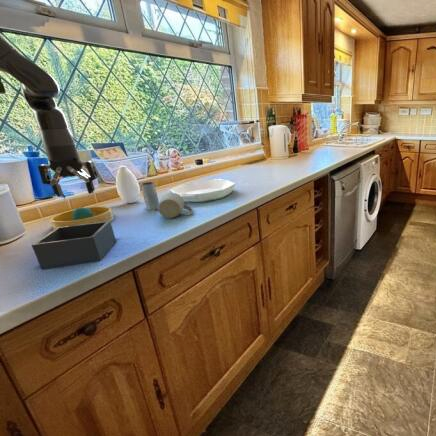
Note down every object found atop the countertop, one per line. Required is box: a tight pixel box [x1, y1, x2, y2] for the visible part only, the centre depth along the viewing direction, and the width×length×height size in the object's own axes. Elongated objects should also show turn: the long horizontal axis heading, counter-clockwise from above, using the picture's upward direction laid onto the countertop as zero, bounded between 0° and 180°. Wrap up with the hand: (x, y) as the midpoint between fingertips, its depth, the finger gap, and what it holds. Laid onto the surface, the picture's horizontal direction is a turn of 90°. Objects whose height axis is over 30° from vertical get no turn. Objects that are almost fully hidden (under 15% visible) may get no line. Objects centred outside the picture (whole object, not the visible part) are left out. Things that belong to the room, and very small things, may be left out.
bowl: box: [49, 205, 114, 230], centre depth 102 cm, size 16×16×4 cm
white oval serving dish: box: [168, 178, 236, 203], centre depth 133 cm, size 31×26×4 cm
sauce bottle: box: [115, 160, 141, 204], centre depth 124 cm, size 8×8×18 cm
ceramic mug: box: [157, 192, 194, 219], centre depth 108 cm, size 11×8×8 cm
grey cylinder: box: [140, 181, 160, 211], centre depth 115 cm, size 4×4×10 cm
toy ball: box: [72, 206, 93, 220], centre depth 102 cm, size 6×6×6 cm
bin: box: [31, 221, 117, 270], centre depth 79 cm, size 12×12×6 cm
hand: (76, 194), depth 99 cm, fingers open, 8 cm apart
